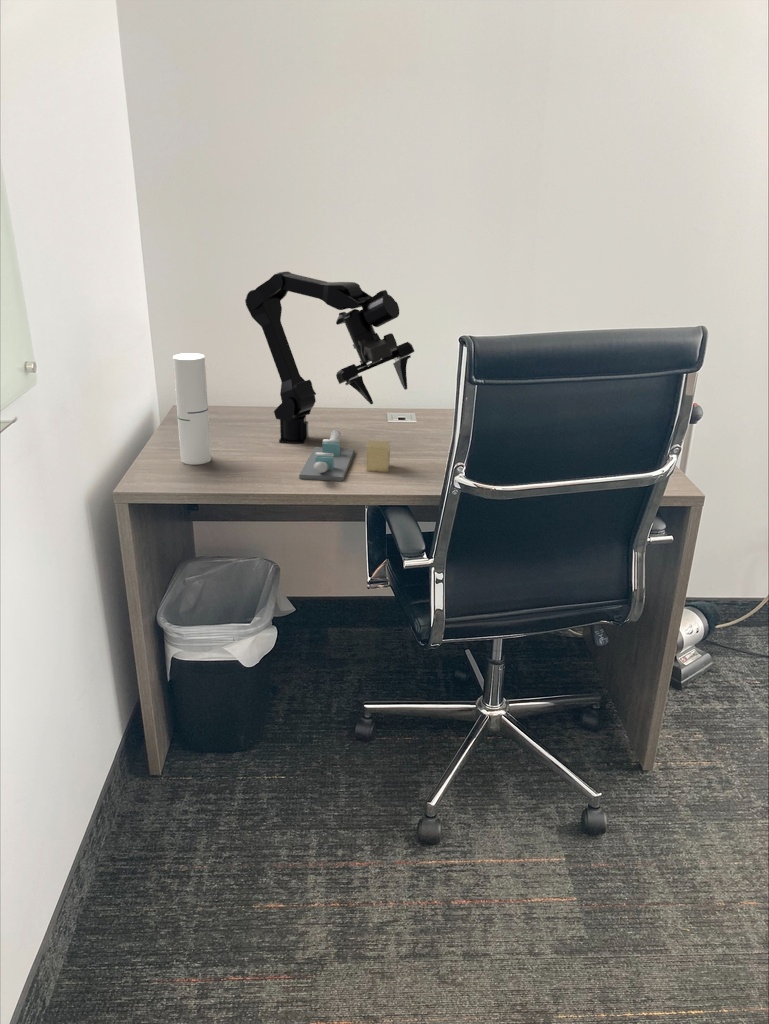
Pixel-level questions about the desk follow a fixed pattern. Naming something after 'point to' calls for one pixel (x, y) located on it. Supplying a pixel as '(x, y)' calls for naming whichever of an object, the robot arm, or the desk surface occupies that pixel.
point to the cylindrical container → (192, 408)
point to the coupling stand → (328, 460)
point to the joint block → (378, 456)
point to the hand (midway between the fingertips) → (389, 396)
